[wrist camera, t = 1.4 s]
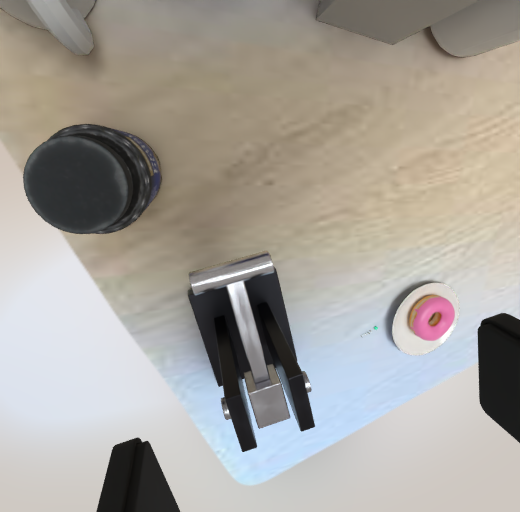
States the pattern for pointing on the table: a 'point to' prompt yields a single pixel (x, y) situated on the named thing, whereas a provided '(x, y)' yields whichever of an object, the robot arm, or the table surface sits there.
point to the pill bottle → (91, 179)
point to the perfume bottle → (387, 16)
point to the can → (479, 27)
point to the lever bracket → (234, 357)
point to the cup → (56, 20)
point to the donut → (425, 319)
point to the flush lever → (248, 331)
